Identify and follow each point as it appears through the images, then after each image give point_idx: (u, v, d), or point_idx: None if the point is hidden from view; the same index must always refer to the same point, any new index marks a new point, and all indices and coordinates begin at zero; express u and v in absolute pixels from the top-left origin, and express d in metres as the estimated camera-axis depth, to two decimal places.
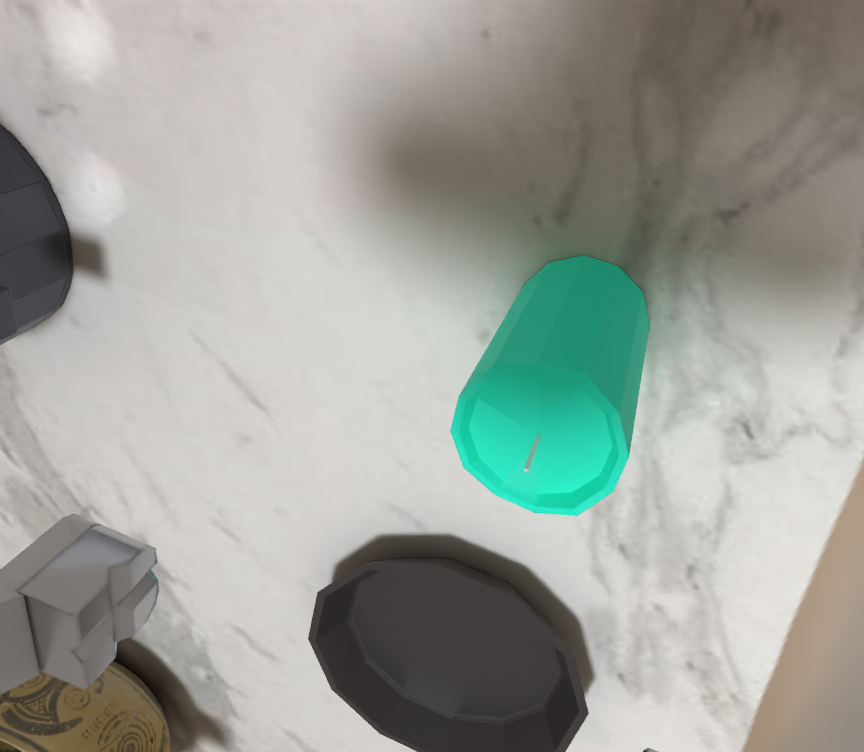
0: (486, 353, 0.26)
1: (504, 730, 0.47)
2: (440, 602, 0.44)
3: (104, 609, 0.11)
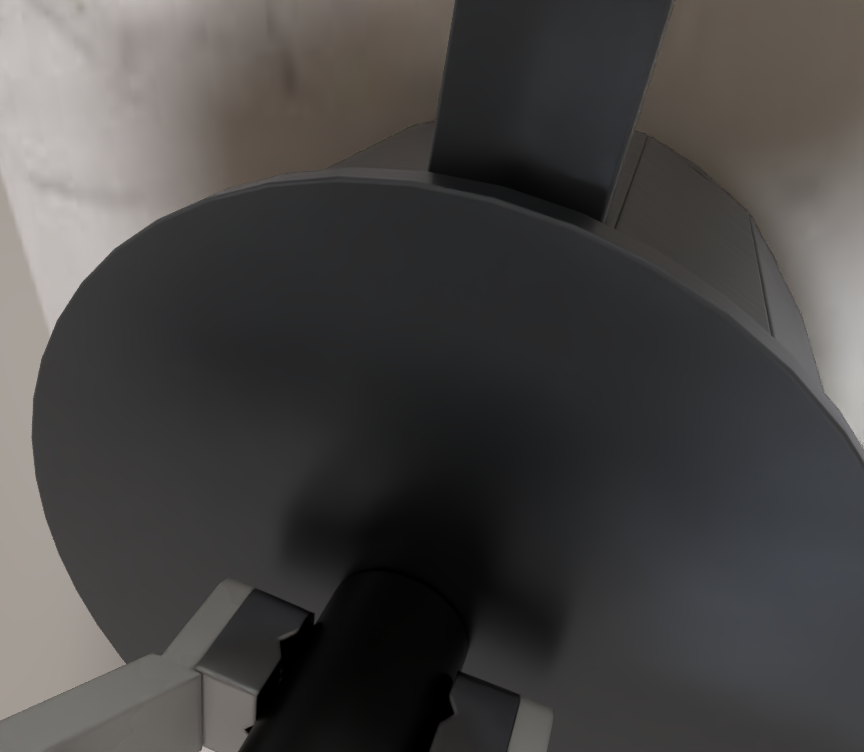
0: None
1: None
2: None
3: (276, 683, 0.10)
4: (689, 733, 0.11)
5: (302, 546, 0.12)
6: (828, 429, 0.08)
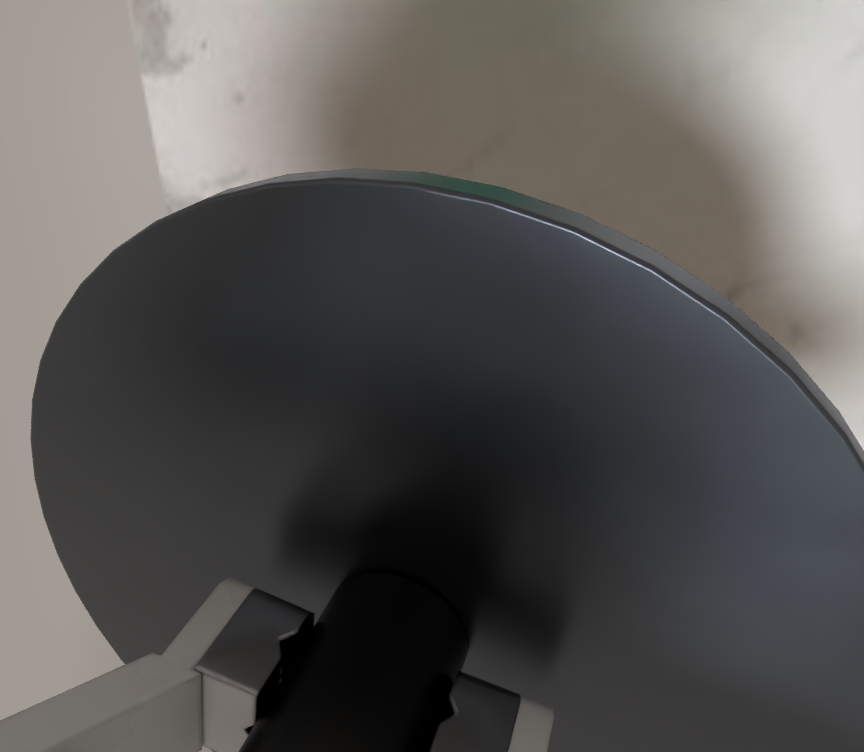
0: None
1: None
2: None
3: (275, 683, 0.10)
4: (689, 734, 0.11)
5: (301, 548, 0.12)
6: (828, 431, 0.08)
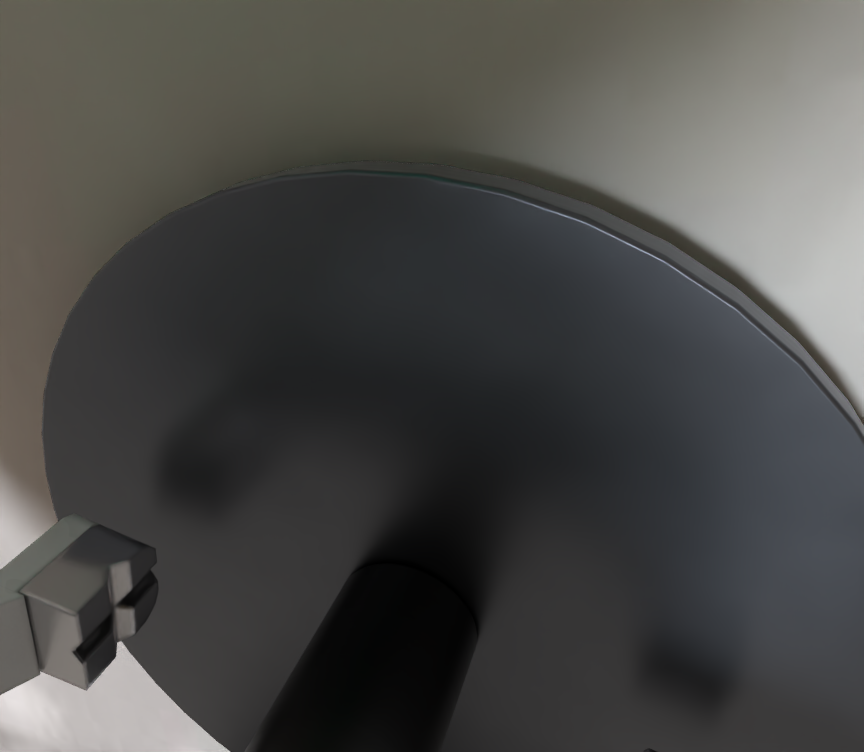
0: None
1: None
2: None
3: (104, 609, 0.11)
4: (697, 724, 0.11)
5: (311, 539, 0.12)
6: (837, 419, 0.08)
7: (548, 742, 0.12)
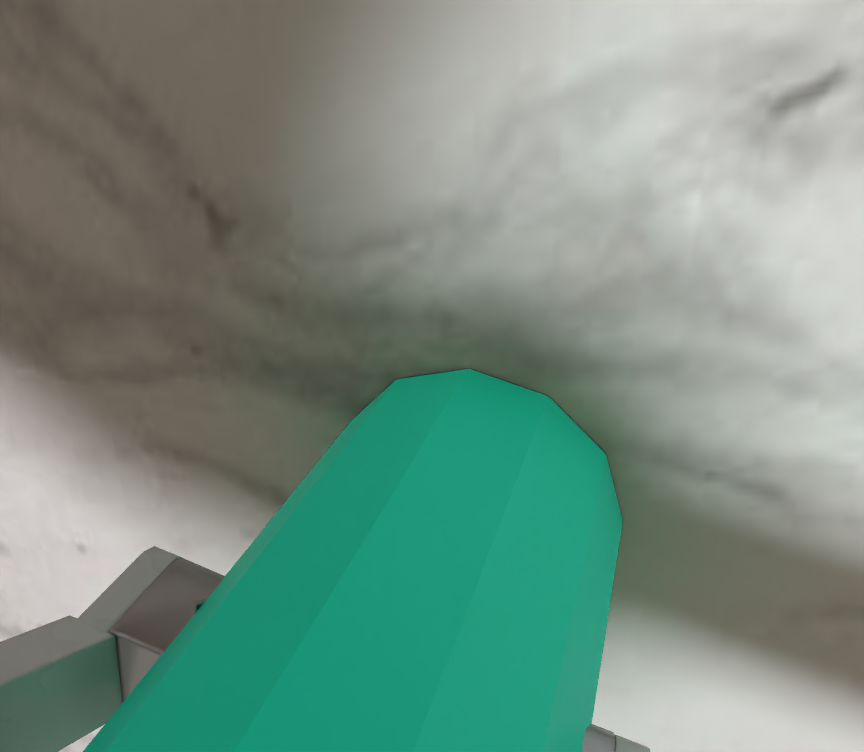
0: None
1: None
2: None
3: None
4: None
5: None
6: None
7: None
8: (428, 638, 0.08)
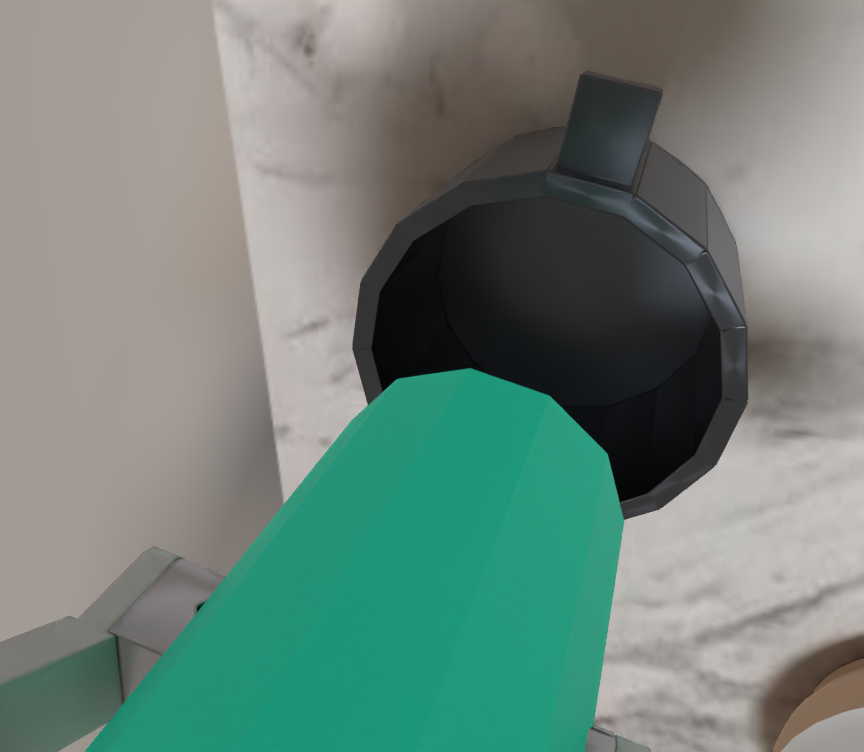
0: None
1: None
2: None
3: None
4: None
5: None
6: None
7: None
8: (430, 639, 0.08)
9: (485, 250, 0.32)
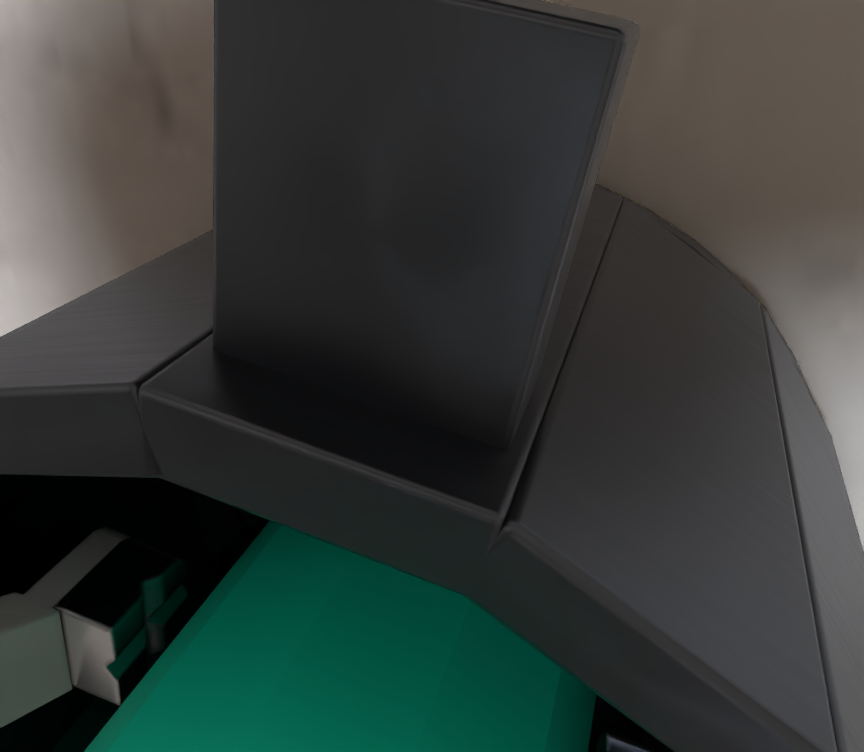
0: None
1: None
2: None
3: (138, 624, 0.10)
4: None
5: None
6: None
7: None
8: (432, 633, 0.08)
9: None
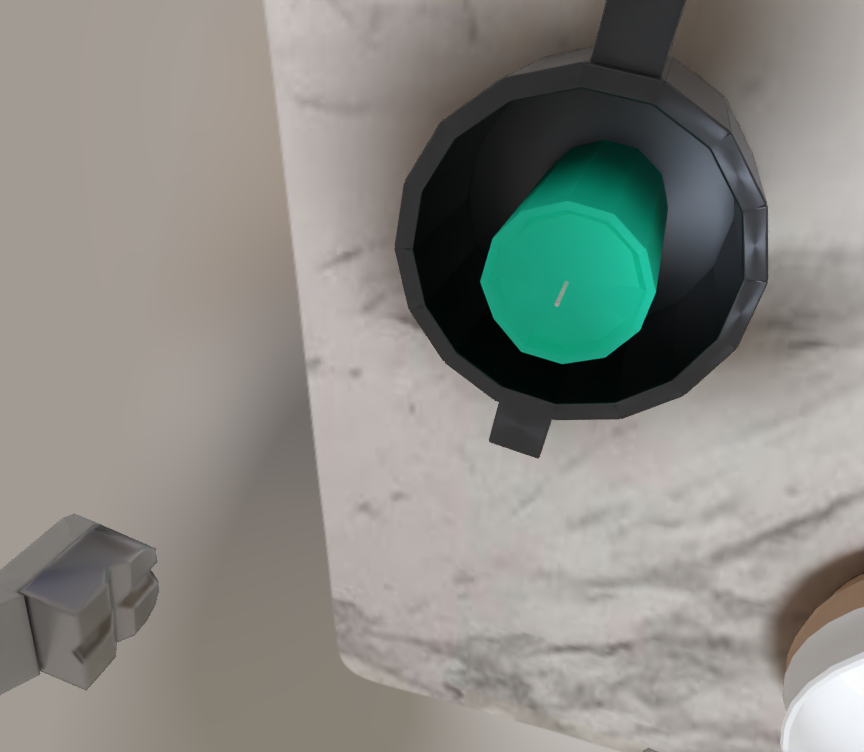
0: None
1: None
2: None
3: (104, 609, 0.11)
4: None
5: None
6: None
7: None
8: (619, 178, 0.26)
9: (514, 171, 0.33)
